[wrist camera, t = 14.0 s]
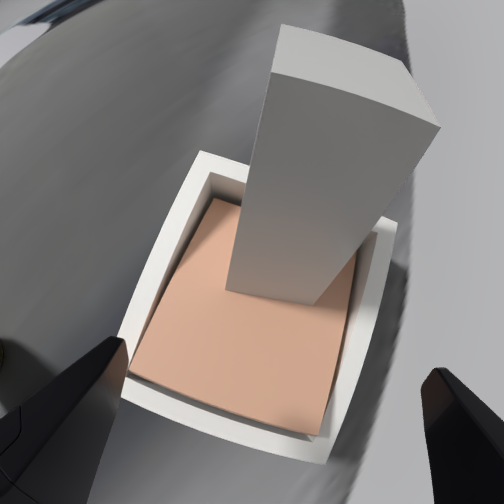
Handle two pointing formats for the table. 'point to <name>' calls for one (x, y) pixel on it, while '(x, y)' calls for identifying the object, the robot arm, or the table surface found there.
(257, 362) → the trapdoor
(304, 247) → the stone pillar
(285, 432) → the trapdoor frame
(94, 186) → the table surface
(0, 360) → the cup
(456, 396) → the robot arm
